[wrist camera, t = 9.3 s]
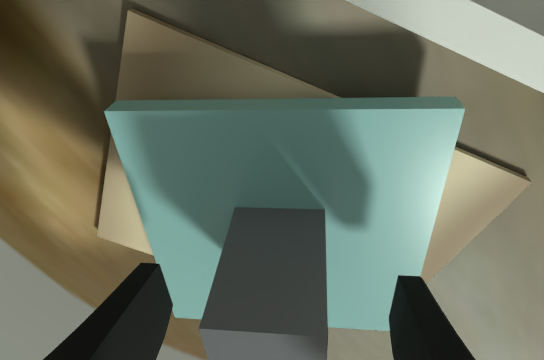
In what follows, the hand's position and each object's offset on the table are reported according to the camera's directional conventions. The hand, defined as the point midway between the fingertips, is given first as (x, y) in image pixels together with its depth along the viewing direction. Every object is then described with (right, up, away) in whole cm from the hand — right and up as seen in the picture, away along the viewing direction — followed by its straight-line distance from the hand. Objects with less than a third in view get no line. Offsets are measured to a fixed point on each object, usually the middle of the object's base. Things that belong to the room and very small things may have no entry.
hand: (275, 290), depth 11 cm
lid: (0, +2, +3) cm, 4 cm away
